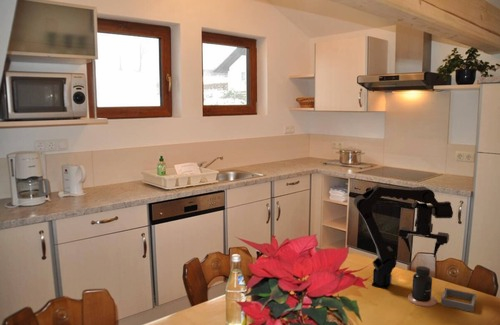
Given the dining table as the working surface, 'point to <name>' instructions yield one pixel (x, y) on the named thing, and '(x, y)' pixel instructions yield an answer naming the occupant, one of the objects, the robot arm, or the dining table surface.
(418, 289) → the supplement bottle
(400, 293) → the dining table surface
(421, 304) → the coaster
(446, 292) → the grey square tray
